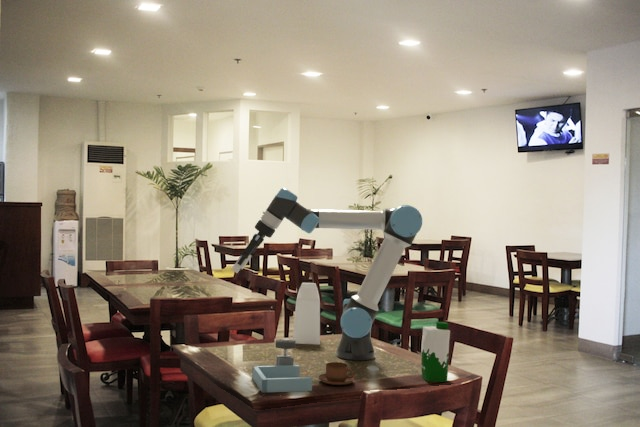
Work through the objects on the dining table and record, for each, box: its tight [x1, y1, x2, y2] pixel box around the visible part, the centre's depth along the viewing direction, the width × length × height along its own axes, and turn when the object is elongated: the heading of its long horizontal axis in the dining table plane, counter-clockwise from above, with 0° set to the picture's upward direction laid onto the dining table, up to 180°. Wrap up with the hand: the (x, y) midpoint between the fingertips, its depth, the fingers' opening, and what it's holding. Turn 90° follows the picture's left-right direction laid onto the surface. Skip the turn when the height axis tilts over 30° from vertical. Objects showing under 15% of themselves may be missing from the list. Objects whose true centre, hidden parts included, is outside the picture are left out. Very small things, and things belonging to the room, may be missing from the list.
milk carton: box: [420, 321, 451, 383], centre depth 222 cm, size 9×9×20 cm
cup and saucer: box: [318, 361, 355, 386], centre depth 212 cm, size 12×12×6 cm
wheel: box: [275, 338, 297, 356], centre depth 220 cm, size 7×7×6 cm
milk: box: [292, 282, 321, 345], centre depth 281 cm, size 12×12×26 cm
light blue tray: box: [251, 354, 313, 394], centre depth 210 cm, size 16×24×6 cm, turn 16°
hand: (237, 269), depth 245 cm, fingers open, 13 cm apart
